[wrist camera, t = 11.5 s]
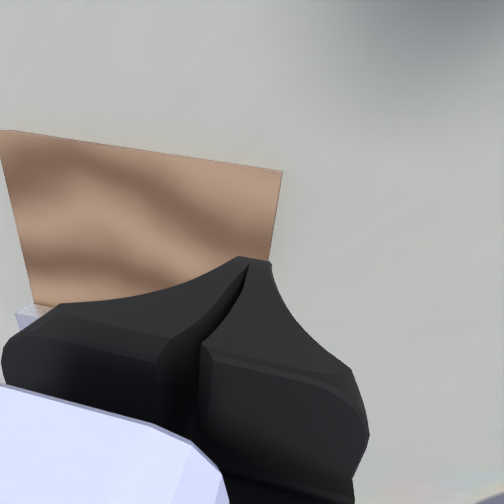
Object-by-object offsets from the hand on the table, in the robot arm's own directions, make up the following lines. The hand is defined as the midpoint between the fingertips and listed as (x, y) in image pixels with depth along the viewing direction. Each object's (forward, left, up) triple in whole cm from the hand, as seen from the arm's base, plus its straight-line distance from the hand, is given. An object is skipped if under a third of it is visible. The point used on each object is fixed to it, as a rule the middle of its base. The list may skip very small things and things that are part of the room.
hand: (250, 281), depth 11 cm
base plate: (-7, +10, -9) cm, 15 cm away
